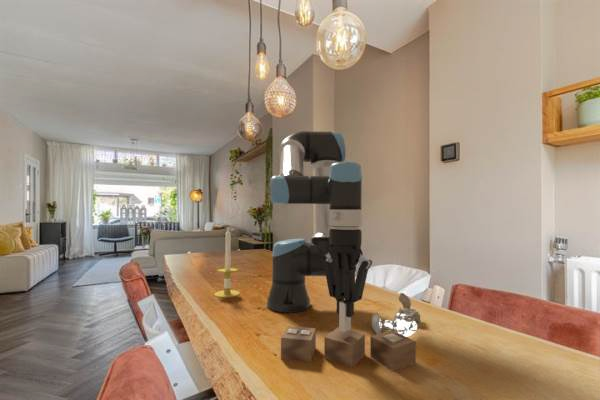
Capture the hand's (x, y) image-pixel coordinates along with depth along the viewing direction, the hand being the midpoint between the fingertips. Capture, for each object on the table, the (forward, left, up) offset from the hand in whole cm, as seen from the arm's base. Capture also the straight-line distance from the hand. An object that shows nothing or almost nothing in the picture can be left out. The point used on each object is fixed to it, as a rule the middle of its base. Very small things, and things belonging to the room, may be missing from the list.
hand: (345, 329), depth 70 cm
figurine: (+3, +20, -7) cm, 21 cm away
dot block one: (+9, +6, -7) cm, 13 cm away
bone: (+3, +31, -7) cm, 32 cm away
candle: (-63, +12, -7) cm, 65 cm away
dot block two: (-9, -6, -7) cm, 13 cm away
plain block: (0, 0, -7) cm, 7 cm away
